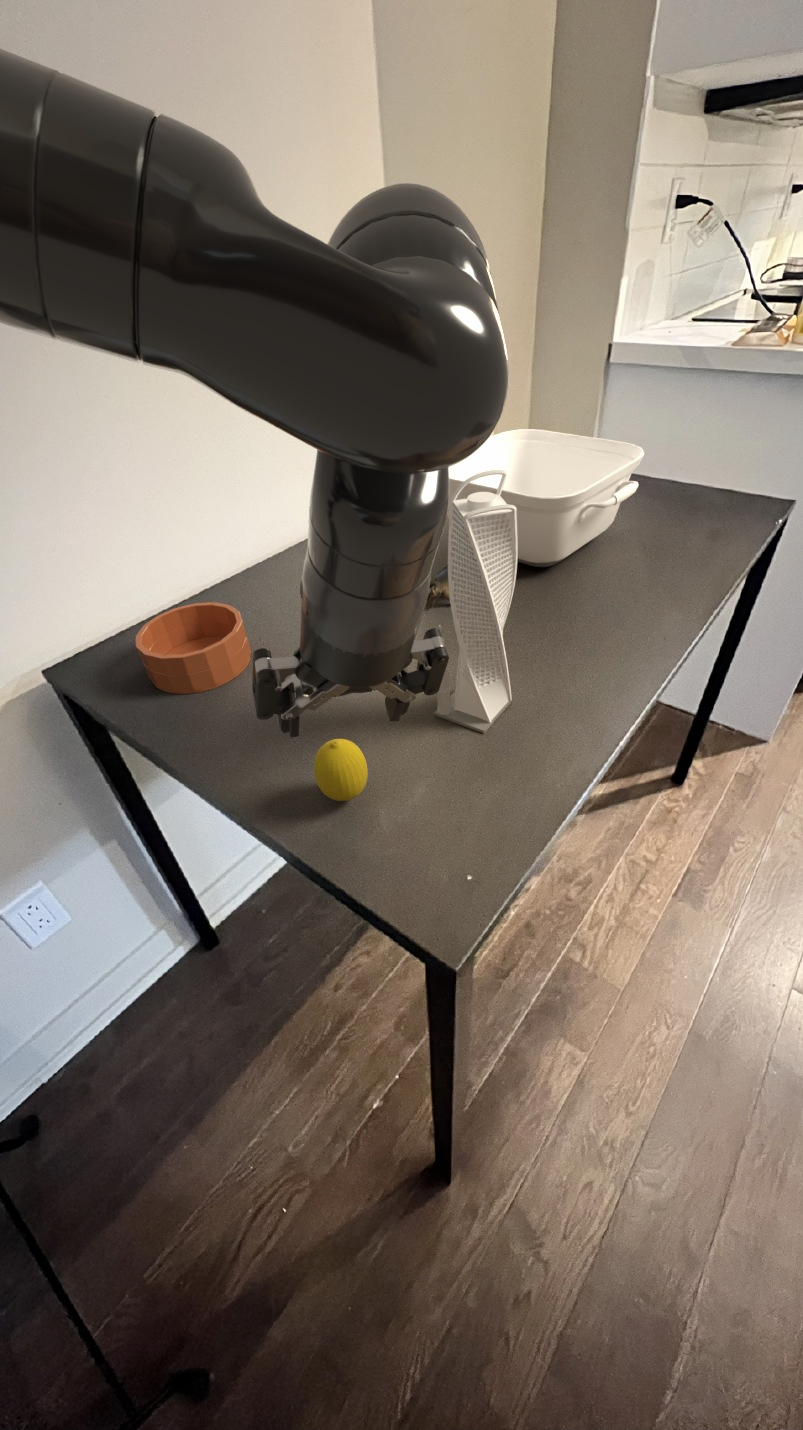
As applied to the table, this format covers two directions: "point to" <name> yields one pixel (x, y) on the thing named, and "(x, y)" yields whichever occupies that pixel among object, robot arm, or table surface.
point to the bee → (439, 587)
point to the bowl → (194, 647)
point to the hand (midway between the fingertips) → (343, 719)
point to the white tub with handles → (552, 487)
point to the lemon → (340, 769)
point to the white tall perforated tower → (480, 604)
